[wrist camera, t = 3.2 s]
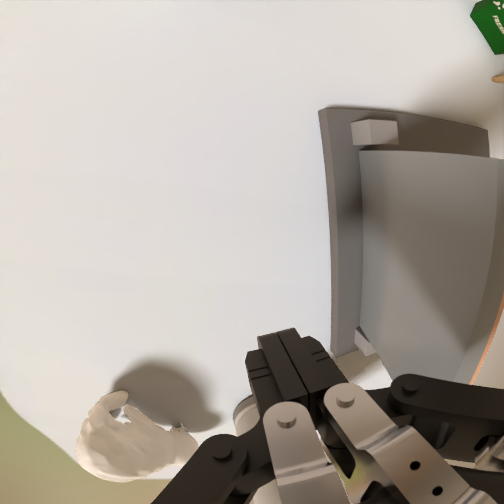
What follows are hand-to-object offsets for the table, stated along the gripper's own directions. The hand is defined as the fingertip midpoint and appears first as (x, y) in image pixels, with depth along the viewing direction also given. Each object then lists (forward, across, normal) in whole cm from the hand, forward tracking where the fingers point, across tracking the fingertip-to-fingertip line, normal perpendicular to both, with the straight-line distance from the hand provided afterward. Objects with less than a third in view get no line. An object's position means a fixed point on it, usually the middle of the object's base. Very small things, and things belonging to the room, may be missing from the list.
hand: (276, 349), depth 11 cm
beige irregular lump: (+10, +12, +14) cm, 21 cm away
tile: (+7, -11, 0) cm, 13 cm away
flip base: (+9, -18, 0) cm, 20 cm away
